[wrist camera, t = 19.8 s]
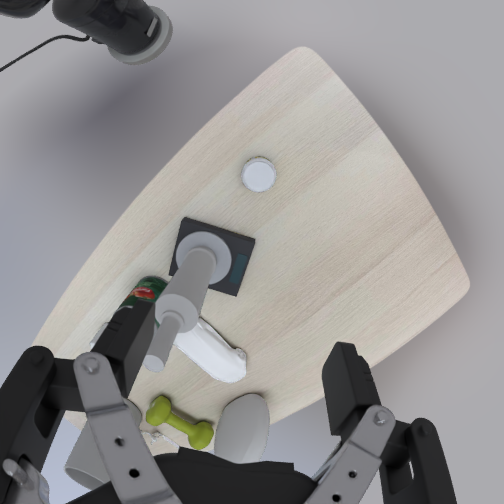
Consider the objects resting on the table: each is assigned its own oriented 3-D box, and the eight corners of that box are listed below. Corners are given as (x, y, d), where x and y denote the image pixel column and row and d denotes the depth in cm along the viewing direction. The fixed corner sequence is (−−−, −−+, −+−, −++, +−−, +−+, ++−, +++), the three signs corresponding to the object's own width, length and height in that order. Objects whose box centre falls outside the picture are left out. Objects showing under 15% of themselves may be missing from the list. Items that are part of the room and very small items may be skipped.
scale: (171, 270, 51) (167, 276, 49) (184, 216, 48) (180, 220, 46) (237, 291, 52) (236, 298, 50) (255, 239, 49) (255, 244, 47)
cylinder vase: (118, 424, 69) (91, 492, 45) (91, 395, 65) (54, 464, 42) (151, 420, 67) (126, 497, 43) (122, 389, 63) (86, 468, 39)
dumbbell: (147, 402, 64) (139, 423, 57) (163, 389, 62) (155, 411, 55) (199, 433, 68) (195, 454, 61) (218, 422, 65) (215, 445, 59)
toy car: (160, 325, 56) (154, 339, 51) (185, 302, 53) (179, 315, 49) (228, 377, 60) (226, 392, 55) (254, 359, 58) (254, 374, 53)
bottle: (222, 269, 48) (191, 380, 25) (193, 278, 49) (144, 386, 25) (210, 240, 47) (164, 335, 23) (181, 249, 47) (116, 345, 24)
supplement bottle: (249, 190, 46) (246, 200, 38) (239, 162, 45) (234, 165, 37) (278, 180, 46) (282, 188, 38) (268, 152, 44) (270, 153, 36)
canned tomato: (150, 267, 51) (126, 296, 41) (184, 295, 53) (167, 330, 43) (128, 294, 53) (104, 325, 43) (160, 320, 55) (141, 356, 45)
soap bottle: (234, 423, 65) (226, 518, 40) (210, 407, 63) (193, 507, 38) (281, 399, 62) (286, 505, 36) (257, 381, 60) (254, 493, 34)
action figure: (172, 448, 73) (188, 447, 70) (165, 461, 68) (181, 461, 65) (143, 424, 71) (158, 422, 67) (135, 437, 66) (150, 437, 63)
